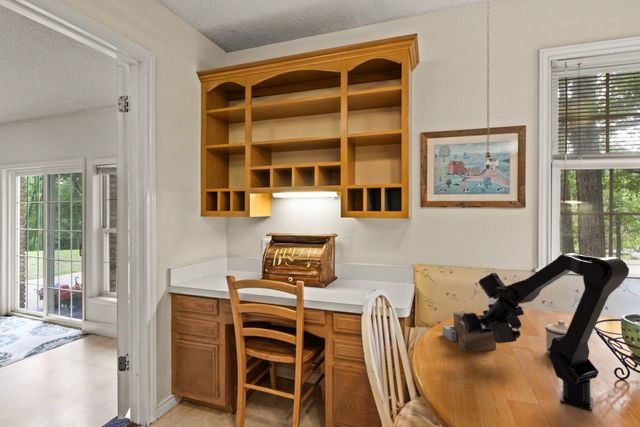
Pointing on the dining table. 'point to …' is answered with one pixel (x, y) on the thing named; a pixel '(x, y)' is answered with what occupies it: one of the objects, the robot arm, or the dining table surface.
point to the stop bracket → (449, 332)
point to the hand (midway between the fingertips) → (480, 332)
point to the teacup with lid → (555, 332)
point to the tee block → (472, 337)
